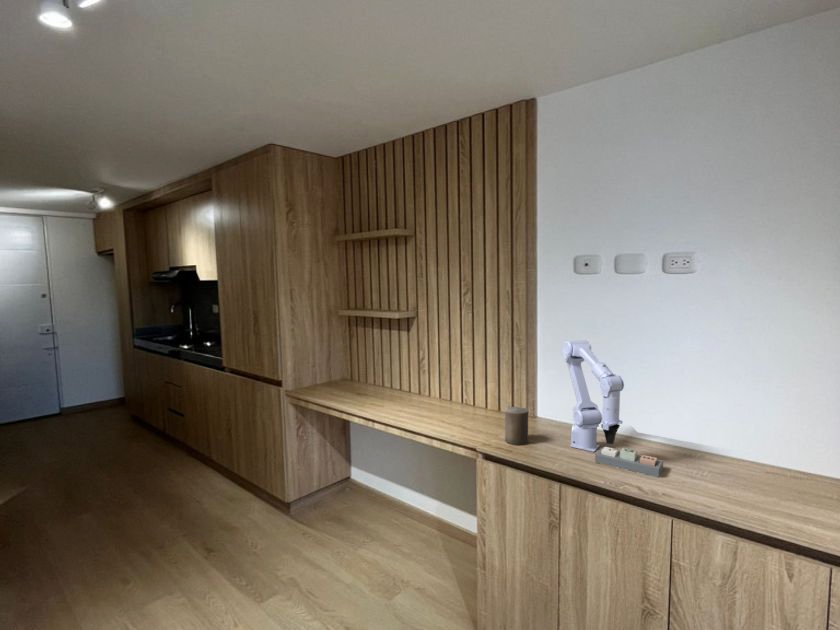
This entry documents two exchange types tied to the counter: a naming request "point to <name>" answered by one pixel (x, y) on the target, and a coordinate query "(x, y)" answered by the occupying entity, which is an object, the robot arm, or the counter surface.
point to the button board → (629, 464)
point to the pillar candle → (516, 425)
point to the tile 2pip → (628, 454)
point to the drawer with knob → (609, 451)
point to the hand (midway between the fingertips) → (609, 443)
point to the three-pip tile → (648, 460)
